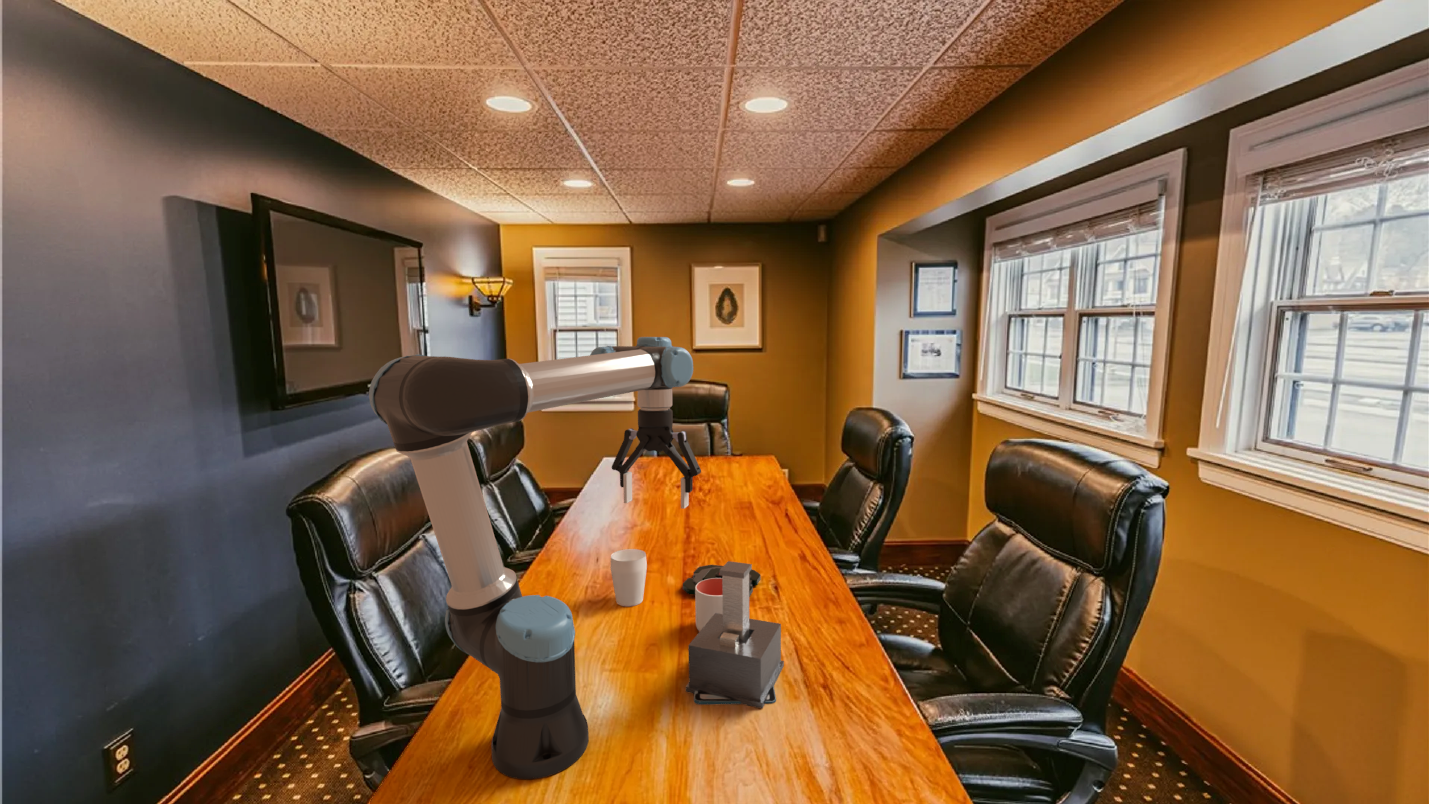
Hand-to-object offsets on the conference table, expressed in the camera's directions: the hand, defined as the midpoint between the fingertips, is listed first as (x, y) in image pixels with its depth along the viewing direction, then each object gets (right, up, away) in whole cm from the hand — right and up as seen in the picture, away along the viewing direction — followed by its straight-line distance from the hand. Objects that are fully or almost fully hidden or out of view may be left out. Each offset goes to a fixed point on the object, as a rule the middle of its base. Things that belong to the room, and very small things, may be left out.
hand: (656, 504), depth 133 cm
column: (+17, -30, -16) cm, 38 cm away
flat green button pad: (+15, -27, +27) cm, 41 cm away
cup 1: (-8, -28, +19) cm, 35 cm away
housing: (+17, -31, -16) cm, 39 cm away
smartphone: (+17, -32, -20) cm, 41 cm away
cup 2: (+14, -29, +4) cm, 33 cm away
